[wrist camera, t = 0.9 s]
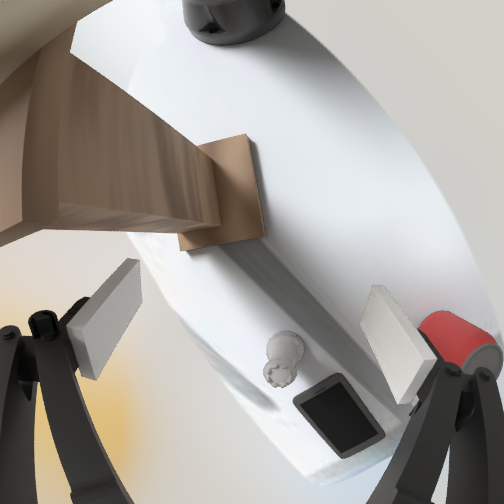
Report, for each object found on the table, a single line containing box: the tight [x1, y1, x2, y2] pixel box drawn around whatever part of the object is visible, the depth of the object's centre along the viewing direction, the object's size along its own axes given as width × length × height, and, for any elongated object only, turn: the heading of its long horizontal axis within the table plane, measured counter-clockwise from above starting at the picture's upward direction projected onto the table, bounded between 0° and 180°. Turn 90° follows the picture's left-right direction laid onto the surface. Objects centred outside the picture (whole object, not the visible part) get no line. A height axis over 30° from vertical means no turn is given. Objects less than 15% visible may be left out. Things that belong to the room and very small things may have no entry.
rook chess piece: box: [263, 331, 304, 388], centre depth 29 cm, size 4×4×8 cm
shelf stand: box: [0, 22, 266, 251], centre depth 19 cm, size 10×12×30 cm
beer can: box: [419, 311, 503, 380], centre depth 24 cm, size 7×7×12 cm
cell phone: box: [293, 373, 385, 459], centre depth 32 cm, size 7×14×1 cm, turn 37°
